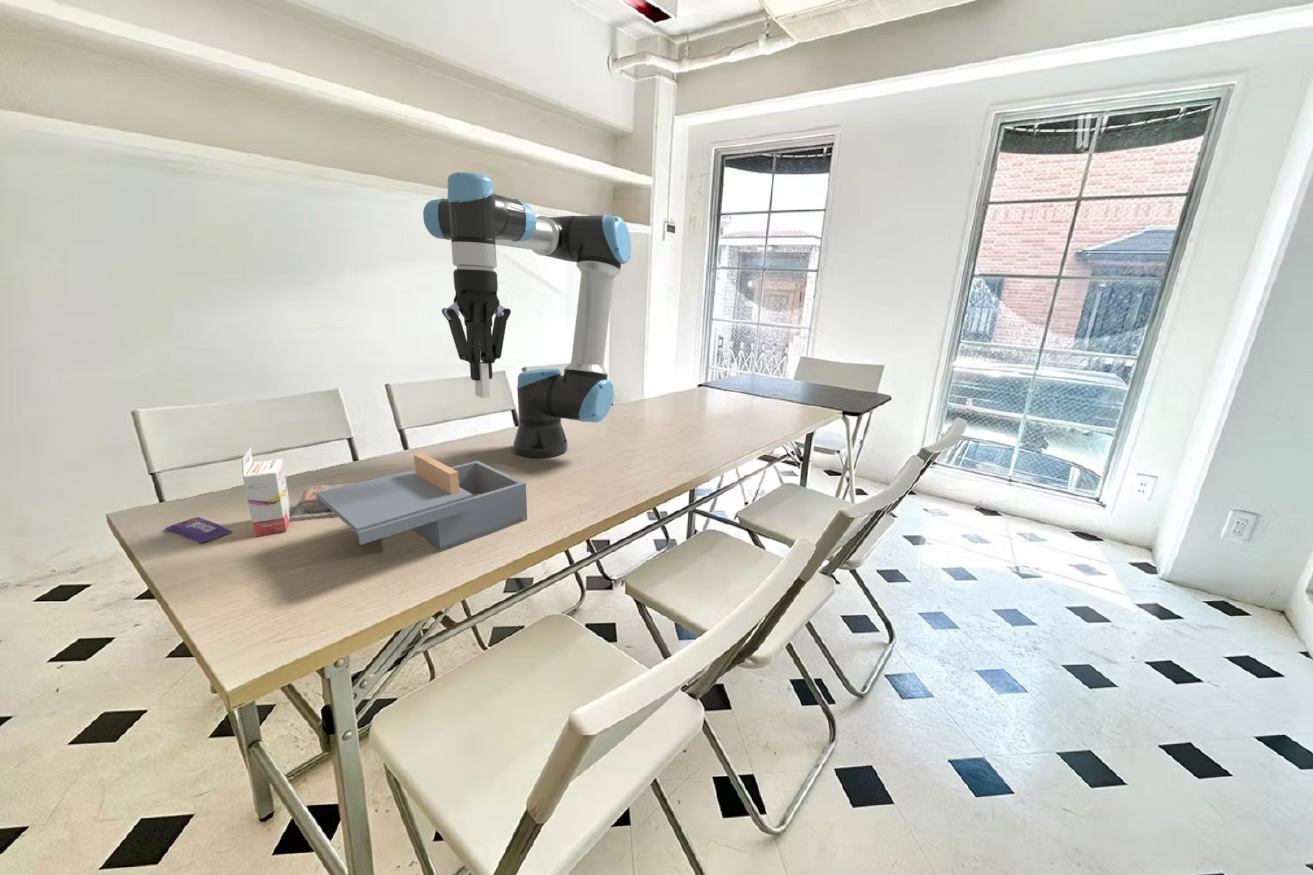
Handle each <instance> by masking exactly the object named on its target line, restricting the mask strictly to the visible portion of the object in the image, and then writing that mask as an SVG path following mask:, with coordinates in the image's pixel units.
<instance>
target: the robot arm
mask: <svg viewBox="0 0 1313 875" xmlns="http://www.w3.org/2000/svg"><path fill="white" fill-rule="evenodd" d="M422 215H423V217H422V218H423V223H424V226H425V228H426V230H427V231H428V233H429V234H430V235H431V236H432V237H434V238H436V239H439V240H440V239H441V240H447V241H449V240H450V241H451V245H450V246H451V254H452V255H451V257H452V258H451V259H452V265H453V266H454V267H456V269H454V271H452V273H453V285H454V286H453V287H454V291H455V294H454V295H455V296H454V298H453V303H452V304H451V305H450V306H448V307H447V308H446V307H443V308H442V309H441V314H442V315H443V316H444V317H445V319H446V321H447V322H448V323H447V324H448V325H449V326H448V327H449V329H450V331H451V336H452V339H453V342H454V345H455V348H456V352H457V355H458V358H459V360H461V361H465V362H468V363H469V372H470V379H471V380H472V381H474V388H475V392H474V393H475V396H476V397H479V398H482V399H487V398H491V392H490V390H491V388H490V380H492V378H493V364H494V363H495V362H496V360H499V359H501V357H502V351H503V347H504V340H505V333H506V328H507V322H508V320H509V318H510V315H511V314H512V311H511V309H510V308H506V307H504V306H503V305H501V304H500V299H499V297H498V290H499V286H498V273H497V271H495V269H496V268H497V266H498V265H497V263H498V262H497V247H496V246H503V247H508V248H509V247H511V248H516V249H522V250H523V249H524V250H529V251H530V250H531V251H532V252H533V253H535V254H536V255H538V256H543V257H548V258H552V259H557V260H561V261H566V262H571V263H576V268H577V269H578V270H579V271H580V280H579V281H580V282H579V291H578V298H577V299H578V300H577V309H576V315H575V325H574V332H573V342H572V343H573V344H572V350H571V360H570V361H571V362H570V363H569V364H568V365H567V366H566V367H564V371H563V375H562V372H561V370H560V369H559V368H556V367H555V368H553V367H552V368H551V367H550V368H539V369H533V370H532V369H531V370H525V371H522V372H520V373H519V374H518V375H517V386H516V390H517V406H518V408H517V409H518V410H517V411H518V426H517V429H516V433H515V437H514V441H513V444H512V445H513V452H514V453H515V454H516V455H518V456H521V457H525V458H532V459H533V458H535V459H536V458H540V459H541V457H543V458H550V457H551V458H552V457H556V455H557V456H559V455H562V453H563V452H565V451H566V450H567V451H568V449H567V448H568V439H567V436H566V434H565V431H564V428H563V426H562V419H566V420H570V421H571V420H572V421H580V422H582V423H599V422H601V421H603V420H604V419H605V418H606V416H607V415H608V414H609V412H610V411H611V408H612V406H613V401H614V397H615V396H614V395H615V391H614V384H613V383H612V381H610V380H609V379H608V375H609V373H608V372H607V371H606V370H605V368H604V363H605V362H604V361H605V355H606V354H605V353H606V344H607V337H608V328H609V321H610V320H609V318H610V312H611V311H610V310H611V303H612V302H611V301H612V294H613V285H614V278H616V276H618V275H619V274H620V273H621V267H622V265H625V264H627V263H628V262H629V261H630V259H631V257H632V256H631V255H632V240H631V236H630V235H631V233H630V230H629V228H628V226H627V224H626V222H625V220H623V219H622V217H620V216H617V215H608V214H602V215H563V216H546V215H539V216H536V213H535V211H534V209H533V208H532V207H531V206H530V205H529V204H528V203H526V202H523V201H522V200H519V199H517V198H511V197H506V196H502V195H499V194H496V193H495V189H494V186H493V181H492V179H490V178H489V176H487V175H484V174H480V173H475V172H467V171H466V172H464V171H463V172H462V171H461V172H453V173H451V174H449V175H448V177H447V197H446V198H444V197H441V198H437V199H431V200H429V201H428V202H427V203H426V204H425V205H424V207H423V211H422ZM460 315H461V316H462V317H463V319H464V320H463V321H464V325H463V323H462V320H461V318H460ZM494 315H495V316H494ZM493 317H494V319H493ZM463 326H465V330H466V331H465V330H464V327H463ZM465 334H466V335H465ZM567 451H566V452H567ZM566 452H565V453H566ZM563 454H564V453H563Z"/></svg>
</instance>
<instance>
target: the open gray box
mask: <svg viewBox="0 0 1313 875" xmlns="http://www.w3.org/2000/svg"><path fill="white" fill-rule="evenodd" d="M449 467H450V468H452V469H454V470H456V471H458V478H459V487H460V488H462V489H464V490H466V491H467V492H469V493H471V494H473V497H474V498H475V507H476V508H475V509H472V510H469V511H466V512H462V513H459V514H456V515H453V516H450V517H447V518H443V519H440V520H437V521H434V522H431V523H428V524H425V525H421V526H418V527H415V528H412V529H410V531H412V532H413V533H415V534H416V535H418V536H419V537H420V538H422V539H423V540H425V541H426V542H427V543H428V544H429V545H430V546H433V547H434V548H435V549H436V550H437V551H439V552H440V553H441V552H443V551H448V550H449V549H452V548H455V547H457V546H460V545H463V544H467V543H469V542H471V541H474V540H477V539H479V538H483V537H485V536H488V535H490V534H492V533H496V532H499V531H500V530H501V531H502V530H504V529H507V528H510V527H512V526H514V525H517V524H518V525H519V524H521V523H523V522H525V521H528V507H527V506H528V503H527V502H528V501H527V499H528V498H527V483H526V482H524V481H522V480H520V479H517V477H513V476H511V475H509V474H507V473H505V472H502V471H501V470H499V469H496V468H494V467H493V466H490V465H488V464H486V463H483V462H481V461H479V460H474V461H471V462H466V463H462V464H459V465H455V466H449Z"/></svg>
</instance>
